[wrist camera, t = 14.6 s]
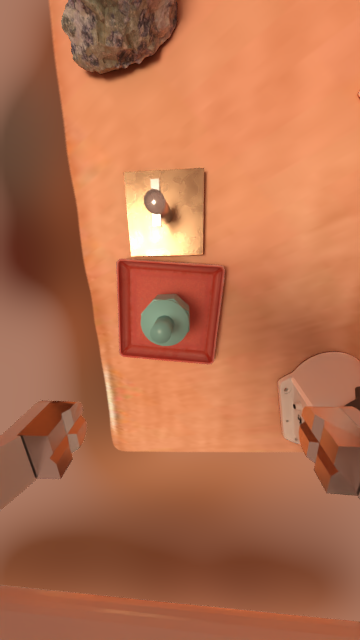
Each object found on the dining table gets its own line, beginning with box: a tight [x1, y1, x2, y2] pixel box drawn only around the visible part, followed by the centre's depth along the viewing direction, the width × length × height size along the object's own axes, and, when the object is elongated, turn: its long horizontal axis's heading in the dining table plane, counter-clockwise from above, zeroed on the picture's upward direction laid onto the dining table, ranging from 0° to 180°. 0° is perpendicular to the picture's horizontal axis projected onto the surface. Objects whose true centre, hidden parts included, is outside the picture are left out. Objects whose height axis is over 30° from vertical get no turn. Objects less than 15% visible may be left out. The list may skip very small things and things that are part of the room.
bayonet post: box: [124, 168, 204, 256], centre depth 28 cm, size 12×12×10 cm
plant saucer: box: [116, 259, 225, 364], centre depth 37 cm, size 18×18×3 cm
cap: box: [141, 294, 190, 346], centre depth 31 cm, size 7×7×9 cm
